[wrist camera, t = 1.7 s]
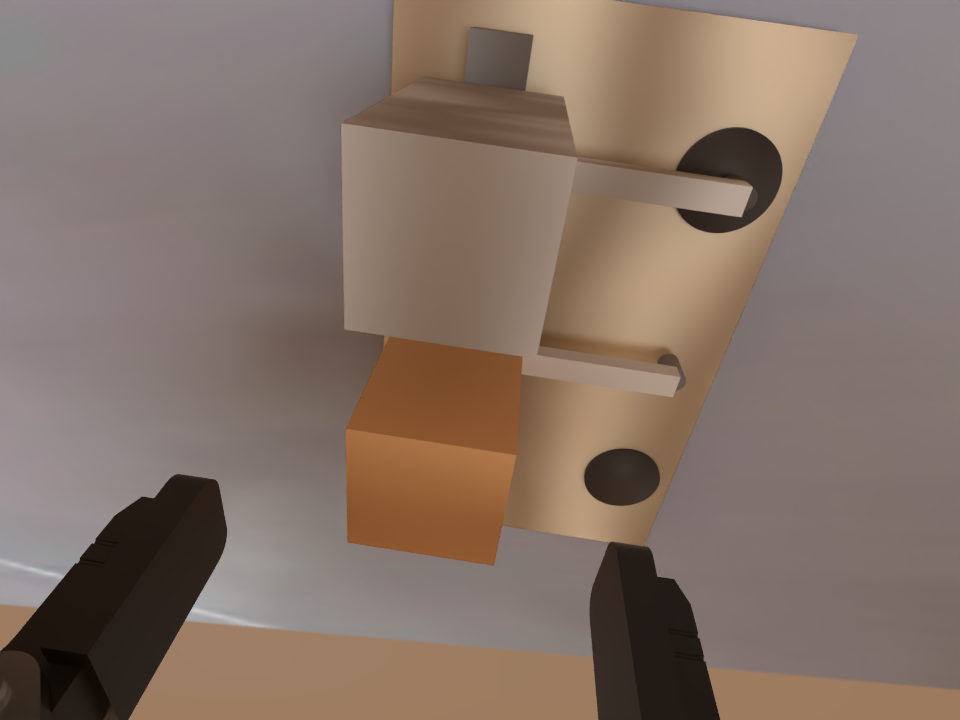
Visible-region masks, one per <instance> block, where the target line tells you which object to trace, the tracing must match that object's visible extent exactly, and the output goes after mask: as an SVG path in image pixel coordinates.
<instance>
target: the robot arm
mask: <svg viewBox="0 0 960 720" xmlns="http://www.w3.org/2000/svg"><path fill="white" fill-rule="evenodd" d="M226 538H227V526H226V521H225V516H224V510H223V505H222V500H221V494H220V489H219V485H218V482H217V481H216V480H214V479H207V478H201V477H194V476H188V475H181V474H177V475H174V476H173V477H171V478H170V479H169V480H168V481H167V483H166V484H165V485H164V487H163V488H162V489H161V490H160V492H159V493H158V494H157V496H156V497H155V498H147V497H141V498H140V499H138V500H137V501H135V502H134V503H132V504H131V505H129V506H128V507H127V508H125V509H124V510H122V511H121V512H119V513H118V514H116V515H115V516H114V517H113V519H112V520H111V521H110V522H109V523H108V525H107V526H106V527H105V528H104V529H103V531H102V532H101V533H100V534H99V535H98V537H97V538H96V541H95V543H94V544H91V545H90V546H89V548H88V549H87V550H86V551H85V552H84V554H83V555H82V556H81V557H80V561H79V563H78V564H77V563H75V565H74V566H73V567H72V568H71V569H70V571H69V572H68V573H67V574H66V575H65V577H64V578H63V579H62V580H61V582H60V583H59V584H58V585H57V586H56V588H55V589H54V590H53V591H52V592H51V594H50V595H49V596H48V597H47V599H46V600H45V601H44V602H43V603H42V605H41V606H40V607H39V608H38V609H37V611H36V612H35V613H34V614H33V615H32V617H31V618H30V619H29V621H28V622H27V623H26V624H25V625H24V626H23V628H22V629H21V630H20V631H19V632H18V634H17V635H16V636H15V637H14V638H13V639H12V641H11V642H10V643H9V644H8V645H7V646H6V647H5V648H3V649H2V650H1V651H0V720H128V719H129V717H130V716H131V714H132V712H133V710H134V708H135V707H136V705H137V703H138V702H139V700H140V698H141V696H142V695H143V693H144V691H145V689H146V688H147V686H148V684H149V682H150V680H151V679H152V677H153V675H154V674H155V672H156V670H157V668H158V666H159V665H160V663H161V661H162V660H163V658H164V656H165V654H166V653H167V651H168V649H169V647H170V645H171V644H172V642H173V640H174V639H175V637H176V635H177V633H178V632H179V630H180V628H181V626H182V625H183V623H184V621H185V619H186V618H187V616H188V614H189V612H190V611H191V609H192V607H193V605H194V604H195V602H196V600H197V598H198V597H199V595H200V593H201V591H202V590H203V588H204V586H205V584H206V583H207V581H208V579H209V577H210V576H211V574H212V572H213V570H214V569H215V567H216V565H217V563H218V562H219V560H220V558H221V555H222V553H223V550H224V547H225V543H226ZM590 626H591V638H592V650H593V661H594V673H595V684H596V696H597V707H598V719H599V720H720V717H719V714H718V709H717V706H716V702H715V698H714V694H713V690H712V686H711V682H710V678H709V674H708V670H707V666H706V662H704V660H703V657H704V655H703V651H702V647H701V643H700V639H699V638H698V636H697V634H698V631H697V627H696V623H695V619H694V616H693V612H692V608H691V605H690V603H689V601H688V600H687V598H686V597H685V595H684V594H683V592H682V591H681V589H680V588H679V586H678V585H677V583H676V581H675V580H674V579H669V578H662V577H657V574H656V569H655V564H654V559H653V555H652V552H651V550H650V548H649V547H645V546H639V545H632V544H625V543H619V542H610V543H609V545H608V547H607V550H606V553H605V555H604V558H603V560H602V563H601V566H600V568H599V571H598V574H597V576H596V579H595V582H594V584H593V587H592V592H591V598H590Z"/></svg>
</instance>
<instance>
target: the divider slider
mask: <svg viewBox="0 0 960 720" xmlns="http://www.w3.org/2000/svg"><path fill="white" fill-rule="evenodd" d="M521 374H524V375H530V376H537V377H543V378H550V379H556V380H563V381H569V382H576V383H583V384H589V385H596V386H602V387H609V388H615V389H622V390H628V391H635V392H641V393H648V394H654V395H661V396H668V397H673V396H674V393H675V391H677V390H680V389H682V388H683V387H684V386H685V384H686V378H685V376H684V373H683V370H682V368H681V365H680V363H679V360H678V358H677V356H675V355H674V354H665V355H662V356H661V357H660V358H659V359H658V362H657V364H654V363H648V362H641V361H635V360H628V359H622V358H615V357H608V356H602V355H595V354H589V353H582V352H575V351H569V350H562V349H556V348H549V347H543V346H539V348H538V353H537V358H536V359H535V358H528V357H522V356H515V355H509V354H502V353H495V352H489V351H482V350H476V349H469V348H463V347H456V346H449V345H443V344H436V343H430V342H423V341H417V340H410V339H404V338H397V337H390V336H389V338H388V341H387V343H386V345H385V347H384V349H383V351H382V353H381V355H380V358H379V360H378V362H377V364H376V366H375V368H374V370H373V372H372V374H371V377H370V379H369V381H368V383H367V385H366V387H365V389H364V391H363V394H362V396H361V398H360V400H359V402H358V404H357V406H356V408H355V410H354V413H353V415H352V417H351V419H350V421H349V423H348V425H347V427H346V470H347V534H348V542H349V543H355V544H361V545H368V546H374V547H380V548H387V549H393V550H399V551H405V552H412V553H418V554H424V555H430V556H437V557H443V558H449V559H456V560H462V561H468V562H474V563H481V564H487V565H493V566H494V562H495V557H496V552H497V547H498V543H499V538H500V533H501V528H502V523H503V518H504V513H505V509H506V504H507V499H508V494H509V489H510V484H511V479H512V475H513V470H514V465H515V460H516V455H517V438H518V422H519V405H520V389H521Z"/></svg>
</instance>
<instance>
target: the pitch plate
mask: <svg viewBox="0 0 960 720" xmlns="http://www.w3.org/2000/svg"><path fill="white" fill-rule="evenodd" d="M858 36H859V35H856V34H849V33H842V32H835V31H828V30H820V29H813V28H806V27H799V26H792V25H785V24H778V23H771V22H763V21H756V20H749V19H742V18H735V17H728V16H721V15H714V14H707V13H699V12H692V11H685V10H678V9H671V8H664V7H657V6H650V5H642V4H635V3H628V2H621V1H614V0H394V12H393V47H392V81H391V96H389V97H387V98H385V99H383V100H382V101H380V102H378V103H376V104H375V105H373V106H371V107H369V108H367V109H366V110H364V111H362V112H360V113H358V114H357V115H355V116H353V117H351V118H350V119H348V120H346V121H344V122H342V123H341V149H342V213H343V277H344V330H351V331H358V332H364V333H371V334H377V335H384V347H385V345H386V343H387V341H388V338H389V336H390V337H397V338H404V339H410V340H417V341H423V342H430V343H436V344H443V345H449V346H456V347H463V348H469V349H476V350H482V351H489V352H495V353H502V354H509V355H515V356H522V357H528V358H535V359H536V358H537V353H538V348H539V346H543V347H549V348H556V349H562V350H569V351H575V352H582V353H589V354H595V355H602V356H608V357H615V358H622V359H628V360H635V361H641V362H648V363H654V364H657V362H658V359H659V358H660V357H661V356H662V355H665V354H674V355H675V356H677V358H678V360H679V363H680V365H681V368H682V370H683V373H684V376H685V378H686V384H685V386H684V387H683V388H682V389H680V390H677V391H675V393H674V396H673V397H668V396H661V395H654V394H648V393H641V392H635V391H628V390H622V389H615V388H609V387H602V386H596V385H589V384H583V383H576V382H569V381H563V380H556V379H550V378H543V377H537V376H530V375H524V374H521V389H520V405H519V422H518V438H517V455H516V460H515V465H514V470H513V475H512V479H511V484H510V489H509V494H508V499H507V504H506V509H505V513H504V518H503V523H502V526H509V527H515V528H521V529H528V530H534V531H540V532H547V533H553V534H559V535H566V536H572V537H578V538H585V539H591V540H597V541H604V542H619V543H625V544H632V545H639V546H644V544H645V542H646V539H647V537H648V535H649V532H650V530H651V528H652V525H653V523H654V520H655V518H656V516H657V513H658V511H659V509H660V506H661V504H662V501H663V499H664V497H665V494H666V492H667V490H668V487H669V485H670V482H671V480H672V478H673V475H674V473H675V471H676V468H677V466H678V463H679V461H680V459H681V456H682V454H683V452H684V449H685V447H686V444H687V442H688V440H689V437H690V435H691V433H692V430H693V428H694V425H695V423H696V421H697V418H698V416H699V414H700V411H701V409H702V406H703V404H704V402H705V399H706V397H707V395H708V392H709V390H710V387H711V385H712V383H713V380H714V378H715V376H716V373H717V371H718V369H719V366H720V364H721V361H722V359H723V357H724V354H725V352H726V350H727V347H728V345H729V342H730V340H731V338H732V335H733V333H734V331H735V328H736V326H737V323H738V321H739V319H740V316H741V314H742V312H743V309H744V307H745V304H746V302H747V300H748V297H749V295H750V293H751V290H752V288H753V285H754V283H755V281H756V278H757V276H758V274H759V271H760V269H761V266H762V264H763V262H764V259H765V257H766V255H767V252H768V250H769V247H770V245H771V243H772V240H773V238H774V236H775V233H776V231H777V228H778V226H779V224H780V221H781V219H782V217H783V214H784V212H785V210H786V207H787V205H788V202H789V200H790V198H791V195H792V193H793V191H794V188H795V186H796V183H797V181H798V179H799V176H800V174H801V172H802V169H803V167H804V164H805V162H806V160H807V157H808V155H809V153H810V150H811V148H812V145H813V143H814V141H815V138H816V136H817V134H818V131H819V129H820V126H821V124H822V122H823V119H824V117H825V115H826V112H827V110H828V107H829V105H830V103H831V100H832V98H833V96H834V93H835V91H836V88H837V86H838V84H839V81H840V79H841V77H842V74H843V72H844V70H845V67H846V65H847V62H848V60H849V58H850V55H851V53H852V51H853V48H854V46H855V43H856V41H857V39H858Z"/></svg>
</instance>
